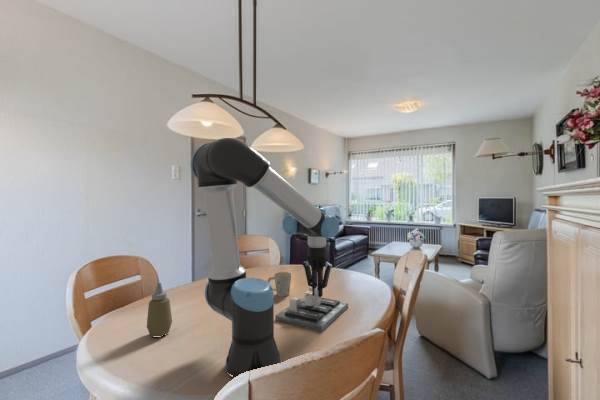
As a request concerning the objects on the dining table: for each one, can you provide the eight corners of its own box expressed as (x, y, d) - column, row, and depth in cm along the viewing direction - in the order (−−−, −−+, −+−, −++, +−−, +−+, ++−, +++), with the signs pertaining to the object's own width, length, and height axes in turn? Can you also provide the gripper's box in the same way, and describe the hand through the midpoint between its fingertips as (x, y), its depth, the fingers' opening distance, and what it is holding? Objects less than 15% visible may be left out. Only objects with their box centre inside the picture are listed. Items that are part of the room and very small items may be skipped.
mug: (289, 298, 138) (289, 276, 138) (263, 296, 140) (263, 275, 140) (293, 292, 146) (293, 272, 146) (269, 291, 148) (269, 271, 148)
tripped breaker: (311, 306, 118) (311, 293, 117) (304, 305, 119) (304, 292, 119) (314, 303, 120) (314, 291, 120) (308, 302, 122) (308, 290, 122)
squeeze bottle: (165, 327, 108) (165, 278, 107) (176, 333, 102) (176, 282, 102) (142, 335, 101) (141, 283, 101) (153, 342, 96) (152, 288, 96)
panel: (322, 331, 103) (321, 309, 102) (275, 320, 113) (275, 299, 112) (348, 307, 125) (348, 288, 125) (307, 299, 135) (307, 282, 135)
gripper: (335, 245, 118) (336, 304, 118) (307, 243, 124) (308, 298, 124) (327, 248, 111) (328, 310, 111) (298, 246, 118) (299, 304, 118)
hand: (317, 304), depth 118 cm, fingers closed
